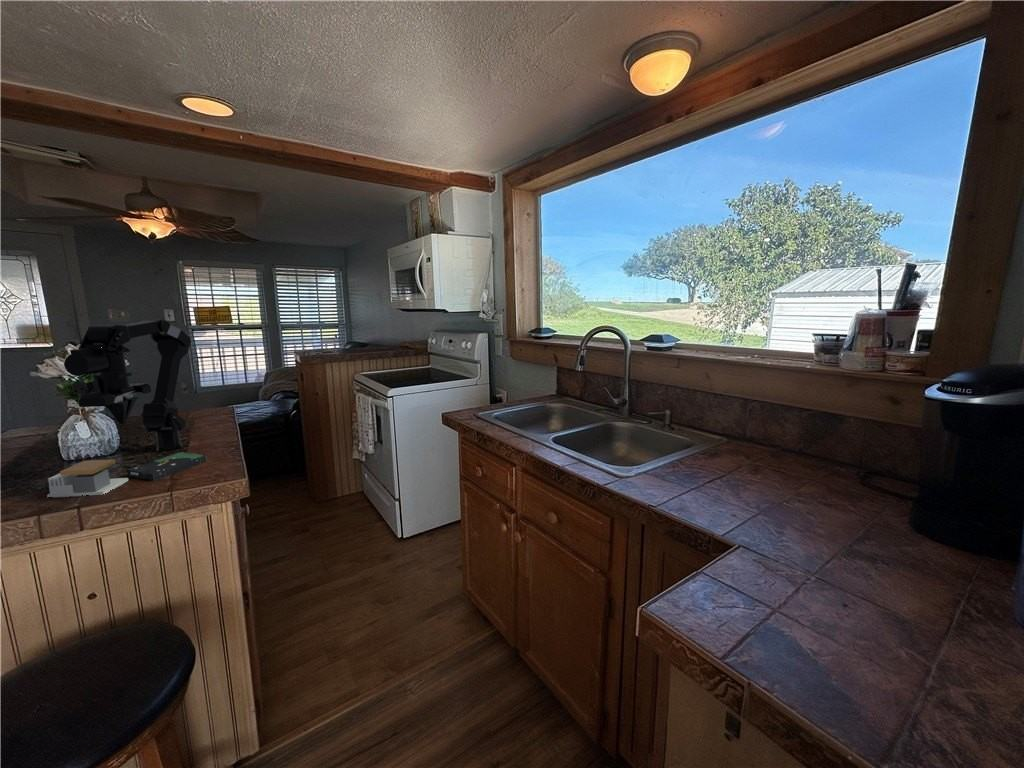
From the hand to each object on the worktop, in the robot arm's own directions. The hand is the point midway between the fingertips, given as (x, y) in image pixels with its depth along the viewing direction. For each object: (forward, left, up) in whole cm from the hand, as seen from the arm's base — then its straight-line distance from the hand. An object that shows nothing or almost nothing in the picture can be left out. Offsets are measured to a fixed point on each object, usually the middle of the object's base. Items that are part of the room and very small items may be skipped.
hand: (122, 423), depth 118 cm
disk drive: (+9, +9, -14) cm, 19 cm away
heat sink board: (+14, -7, -13) cm, 20 cm away
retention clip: (+16, -6, -12) cm, 21 cm away
